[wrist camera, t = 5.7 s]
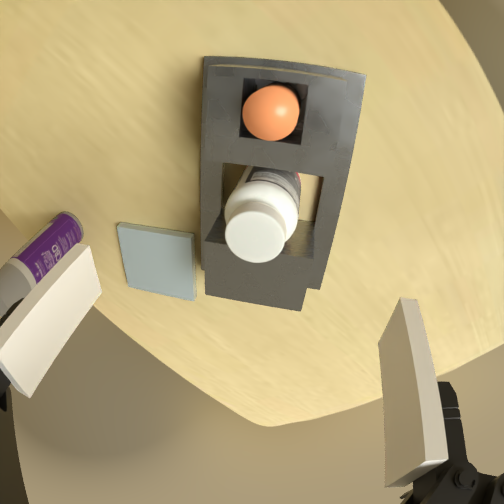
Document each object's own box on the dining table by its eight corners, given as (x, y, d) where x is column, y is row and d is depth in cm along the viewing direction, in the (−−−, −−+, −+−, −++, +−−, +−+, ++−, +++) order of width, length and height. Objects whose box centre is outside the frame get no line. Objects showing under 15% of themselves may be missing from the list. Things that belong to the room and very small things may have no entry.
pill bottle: (269, 217, 31) (251, 283, 23) (230, 177, 29) (197, 231, 21) (313, 186, 28) (312, 246, 20) (274, 141, 26) (256, 184, 19)
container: (89, 235, 36) (17, 317, 24) (71, 247, 38) (4, 323, 26) (68, 205, 34) (-13, 281, 22) (52, 220, 36) (-22, 291, 24)
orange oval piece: (257, 80, 21) (244, 85, 17) (303, 85, 21) (301, 91, 17) (254, 121, 23) (240, 137, 19) (297, 127, 23) (294, 144, 19)
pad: (121, 222, 34) (116, 226, 34) (194, 233, 33) (191, 238, 33) (131, 281, 40) (128, 286, 39) (196, 295, 39) (194, 301, 38)
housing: (207, 56, 23) (180, 57, 18) (364, 74, 22) (379, 79, 17) (203, 265, 36) (186, 301, 31) (319, 284, 34) (318, 325, 30)
